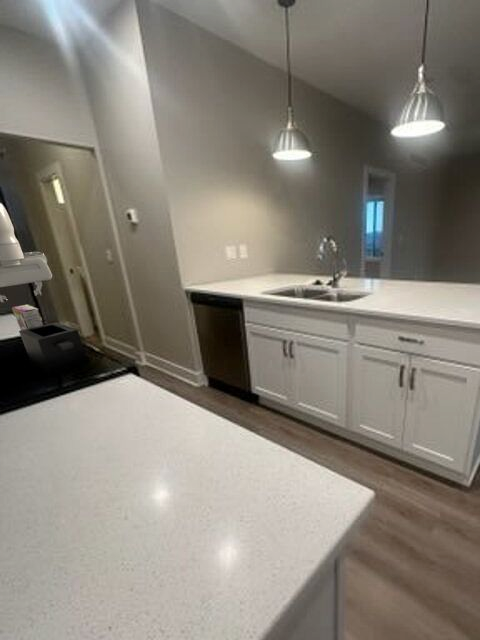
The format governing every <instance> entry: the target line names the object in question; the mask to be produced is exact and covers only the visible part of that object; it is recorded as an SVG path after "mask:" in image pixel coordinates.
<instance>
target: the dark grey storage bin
mask: <svg viewBox="0 0 480 640" xmlns="http://www.w3.org/2000/svg"><path fill="white" fill-rule="evenodd" d="M18 333H19V335H20V338H21V340H22V344H23V346H24V348H25V350H26V354H27V356H28V358H29V362H30V363H31V364H32V365H33V366H35V367H37V368H38V369H40V370H42V371H43V372H45V373H47V375H50V376H52V375H55V374H58V373H62V372H64V371H67V370H70V369H74V368H76V367H79V366H83V365H86V364H89V361H88V359H87V355H86V352H85V349H84V346H83V342H82V339H81V335H80V333H79V330H78V329H76V328H73V327H70V326H67V325H65V324H62V323H60V322H53V323H47V324H44V325H43V326H39V327H34V328H30V329H25V330H21V329H20V330H18ZM65 341H68V342H70V343H73V346H74V347H73V348H69V349H66V350H61V349H59V348H57V346H56V344H58V343H62V342H65Z"/></svg>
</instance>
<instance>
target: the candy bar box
mask: <svg viewBox="0 0 480 640" xmlns="http://www.w3.org/2000/svg"><path fill="white" fill-rule="evenodd" d="M11 309H12V312H13V314H14V317H15V320H16V322H17V324H18V327H19V330H20V331H21V330H25V329H30V328H34V327H39V326H43V325H45V324H44V322H43V318H42V316H41V312H40V311H39V308H37V307H35V306H32V305H30V304H23V305H18V306H13V307H11Z"/></svg>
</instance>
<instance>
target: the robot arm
mask: <svg viewBox="0 0 480 640" xmlns="http://www.w3.org/2000/svg"><path fill="white" fill-rule="evenodd" d="M52 277H53V274H52V271H51V269H50V267H49V265H48V259H47V256H46V255H45V254H44V253H43V252H40V251H28V252H26V251H25V252H23V250H22V247H21V244H20V242H19V240H18V239H17V237H16V235H15V228H14V225H13V223H12V220H11V218H10V215H9V213H8V211H7V209H6V207H5V206H4V204H3V203H2V202H0V288H4V287H10V286H18V285H23V284H31V283H34V284H35V286H36V288H35V290H33V293H34V296H35V297H40V296H42V294H43V293H42V291H41V290H42V287H43V282H44V281H50V280H52V279H53V278H52ZM7 302H8V299H7V296H6V295H2V294H0V303H7Z"/></svg>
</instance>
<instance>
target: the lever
mask: <svg viewBox="0 0 480 640" xmlns="http://www.w3.org/2000/svg"><path fill="white" fill-rule="evenodd" d="M56 346H57V348H59V349H61V350H66V349H69V348H73V347H74V346H73V343H70V342H68V341H65V342H62V343H58V344H56Z"/></svg>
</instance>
